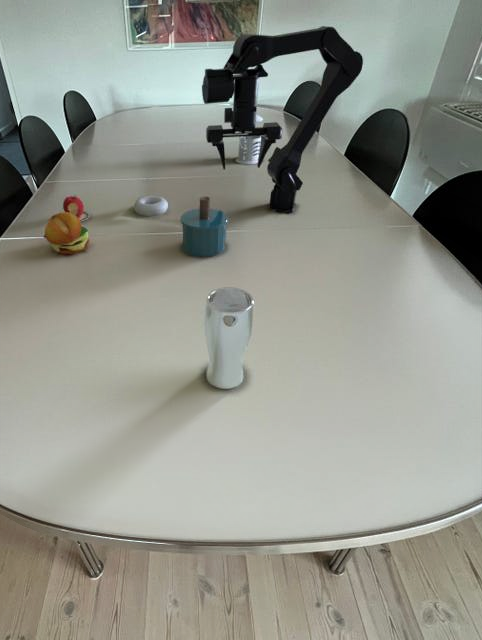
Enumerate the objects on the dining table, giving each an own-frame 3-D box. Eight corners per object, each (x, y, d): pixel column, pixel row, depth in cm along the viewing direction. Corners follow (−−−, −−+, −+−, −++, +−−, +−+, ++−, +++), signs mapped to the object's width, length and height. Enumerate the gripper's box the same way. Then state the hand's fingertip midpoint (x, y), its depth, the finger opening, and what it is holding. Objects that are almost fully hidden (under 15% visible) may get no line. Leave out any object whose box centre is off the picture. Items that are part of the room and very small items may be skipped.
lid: (233, 216, 100) (235, 192, 96) (220, 235, 92) (221, 210, 88) (190, 210, 103) (189, 187, 99) (173, 228, 95) (172, 204, 91)
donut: (130, 218, 117) (164, 219, 115) (128, 206, 115) (163, 207, 113) (139, 205, 124) (171, 205, 122) (138, 193, 122) (170, 194, 120)
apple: (95, 217, 118) (91, 194, 113) (73, 226, 113) (68, 203, 109) (79, 210, 122) (74, 188, 118) (56, 219, 118) (51, 196, 113)
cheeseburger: (99, 239, 106) (89, 206, 98) (81, 267, 101) (69, 234, 93) (65, 234, 109) (52, 201, 101) (46, 261, 103) (31, 229, 95)
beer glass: (200, 363, 69) (202, 287, 59) (241, 360, 70) (249, 284, 60) (206, 393, 64) (209, 315, 54) (250, 389, 64) (260, 311, 54)
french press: (265, 158, 155) (273, 80, 139) (252, 167, 148) (260, 85, 132) (242, 155, 159) (247, 78, 143) (228, 163, 152) (232, 83, 136)
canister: (229, 241, 104) (231, 214, 99) (217, 259, 96) (218, 231, 92) (191, 235, 107) (191, 209, 102) (176, 253, 100) (176, 226, 95)
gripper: (277, 92, 104) (270, 157, 115) (205, 96, 105) (204, 161, 115) (286, 100, 96) (278, 170, 106) (207, 104, 96) (207, 173, 107)
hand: (241, 168), depth 109 cm, fingers open, 9 cm apart
